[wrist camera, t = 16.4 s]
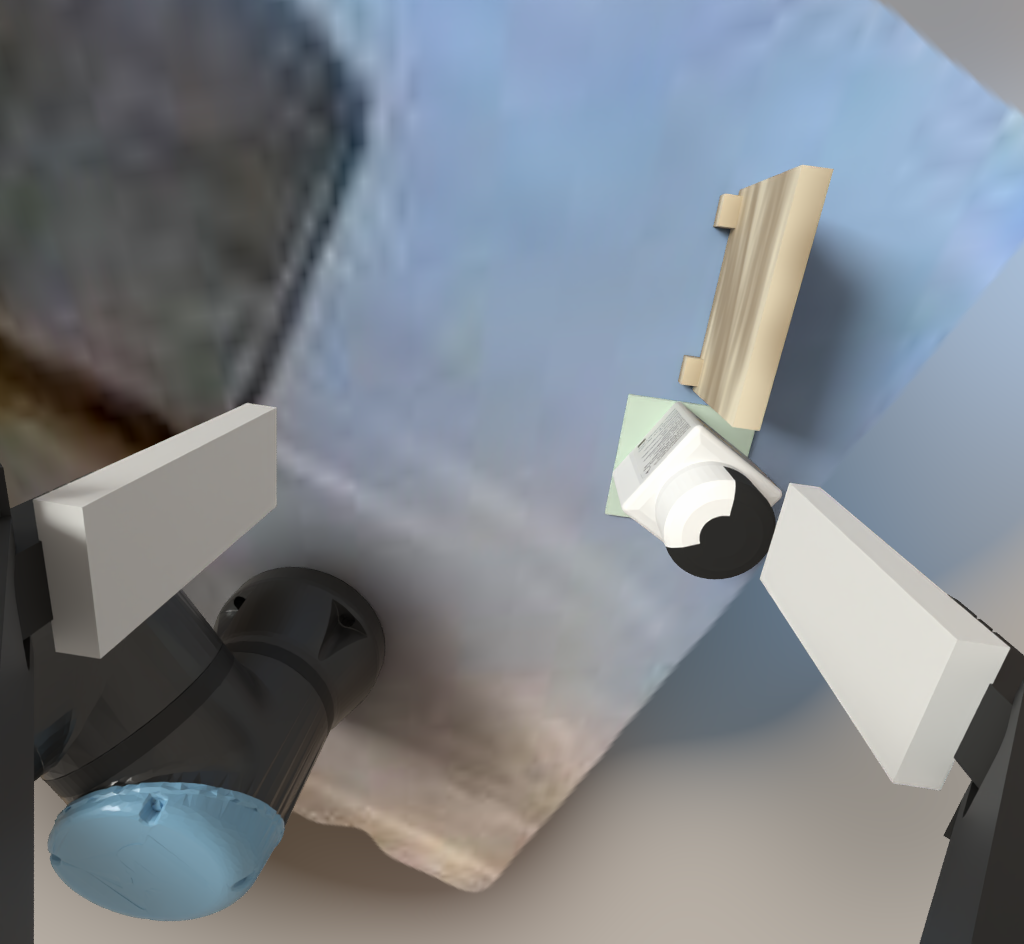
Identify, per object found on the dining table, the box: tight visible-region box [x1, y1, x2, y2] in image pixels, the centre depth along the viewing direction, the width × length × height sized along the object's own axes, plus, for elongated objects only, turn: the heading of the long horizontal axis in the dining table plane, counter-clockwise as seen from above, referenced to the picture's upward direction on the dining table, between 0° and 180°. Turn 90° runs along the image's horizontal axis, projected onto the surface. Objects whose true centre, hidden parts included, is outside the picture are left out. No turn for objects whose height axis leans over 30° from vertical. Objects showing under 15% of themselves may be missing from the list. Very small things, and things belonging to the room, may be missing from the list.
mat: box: [605, 394, 755, 518], centre depth 47 cm, size 10×10×1 cm
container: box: [613, 402, 782, 579], centre depth 41 cm, size 8×8×13 cm
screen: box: [678, 165, 833, 431], centre depth 38 cm, size 4×14×11 cm, turn 172°
